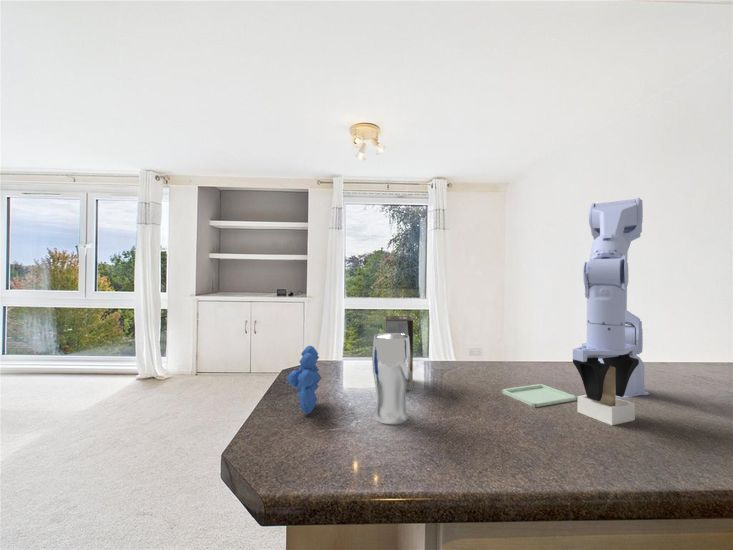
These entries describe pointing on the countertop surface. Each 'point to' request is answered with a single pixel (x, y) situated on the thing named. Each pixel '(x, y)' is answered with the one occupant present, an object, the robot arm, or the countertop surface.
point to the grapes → (306, 379)
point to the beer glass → (391, 376)
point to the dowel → (609, 388)
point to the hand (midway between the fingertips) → (605, 397)
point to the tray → (538, 395)
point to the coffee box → (403, 327)
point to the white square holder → (606, 410)
